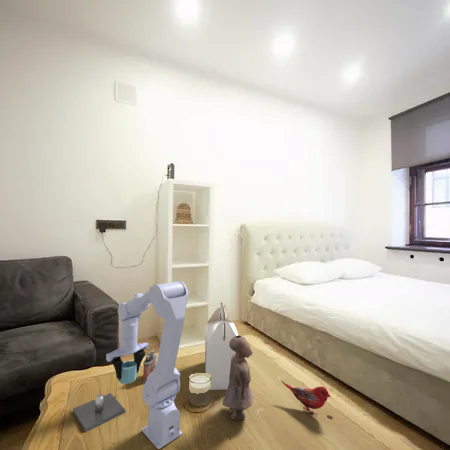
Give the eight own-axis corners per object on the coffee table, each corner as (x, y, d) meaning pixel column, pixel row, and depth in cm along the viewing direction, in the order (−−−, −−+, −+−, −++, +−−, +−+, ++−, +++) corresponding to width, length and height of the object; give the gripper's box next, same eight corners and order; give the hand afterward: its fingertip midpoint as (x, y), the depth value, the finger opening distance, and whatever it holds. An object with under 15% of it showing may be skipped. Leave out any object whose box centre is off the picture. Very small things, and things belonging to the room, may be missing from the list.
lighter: (148, 383, 100) (149, 357, 101) (140, 382, 101) (141, 356, 101) (157, 373, 108) (158, 348, 109) (150, 372, 109) (151, 348, 109)
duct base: (125, 412, 84) (125, 396, 84) (85, 432, 76) (85, 414, 76) (110, 395, 93) (110, 381, 93) (72, 411, 84) (73, 395, 84)
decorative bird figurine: (329, 425, 80) (329, 392, 81) (278, 400, 92) (279, 371, 92) (332, 420, 83) (332, 388, 83) (282, 396, 94) (282, 368, 94)
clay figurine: (258, 427, 79) (259, 344, 80) (226, 431, 77) (228, 346, 78) (247, 400, 92) (248, 329, 92) (219, 403, 90) (221, 330, 91)
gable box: (240, 389, 98) (242, 315, 99) (205, 391, 97) (207, 315, 98) (233, 361, 120) (234, 300, 121) (204, 361, 119) (206, 300, 120)
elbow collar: (138, 379, 91) (139, 364, 91) (123, 385, 87) (123, 370, 87) (128, 370, 97) (129, 356, 97) (113, 376, 93) (114, 362, 93)
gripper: (142, 328, 99) (141, 363, 99) (103, 338, 89) (102, 378, 89) (151, 333, 94) (150, 371, 94) (111, 344, 84) (110, 387, 84)
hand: (127, 375), depth 91 cm, fingers closed on elbow collar, 6 cm apart
